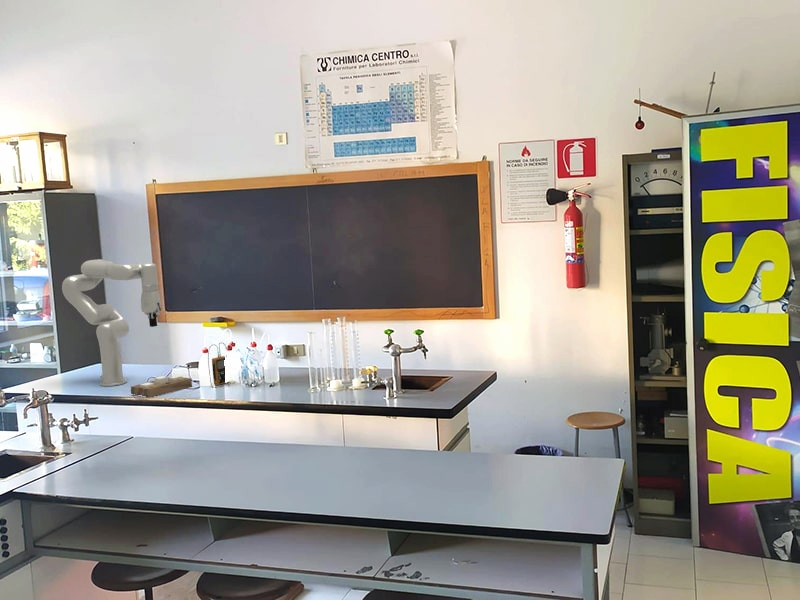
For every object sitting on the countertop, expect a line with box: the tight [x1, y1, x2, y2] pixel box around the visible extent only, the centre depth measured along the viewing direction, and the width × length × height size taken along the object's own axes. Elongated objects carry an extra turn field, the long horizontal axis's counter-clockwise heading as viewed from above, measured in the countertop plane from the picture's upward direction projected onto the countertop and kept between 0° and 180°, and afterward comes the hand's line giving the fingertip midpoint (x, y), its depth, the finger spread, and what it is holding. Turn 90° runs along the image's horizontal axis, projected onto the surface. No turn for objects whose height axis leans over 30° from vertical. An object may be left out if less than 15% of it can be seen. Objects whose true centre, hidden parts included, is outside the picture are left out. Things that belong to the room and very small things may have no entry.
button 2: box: [167, 375, 183, 380], centre depth 366 cm, size 4×4×5 cm
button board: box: [130, 375, 193, 398], centre depth 359 cm, size 14×24×4 cm, turn 145°
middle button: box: [153, 375, 169, 384], centre depth 359 cm, size 4×4×5 cm
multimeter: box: [207, 342, 230, 388], centre depth 365 cm, size 15×10×20 cm
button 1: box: [140, 382, 154, 388], centre depth 353 cm, size 4×4×5 cm
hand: (153, 326), depth 370 cm, fingers closed
